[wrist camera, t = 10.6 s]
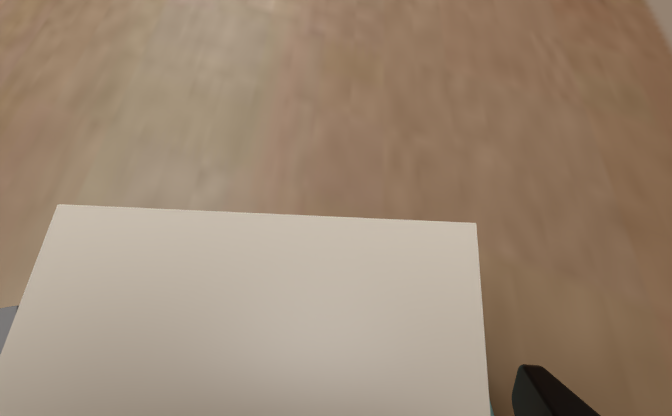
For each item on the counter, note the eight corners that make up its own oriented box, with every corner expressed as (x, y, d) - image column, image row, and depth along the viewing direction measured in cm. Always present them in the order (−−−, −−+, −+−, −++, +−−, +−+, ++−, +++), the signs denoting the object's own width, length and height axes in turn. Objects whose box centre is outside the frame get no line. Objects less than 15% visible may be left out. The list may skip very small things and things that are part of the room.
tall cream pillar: (385, 464, 14) (530, 971, 2) (266, 453, 14) (-182, 833, 2) (387, 337, 16) (476, 223, 4) (281, 329, 16) (57, 204, 4)
